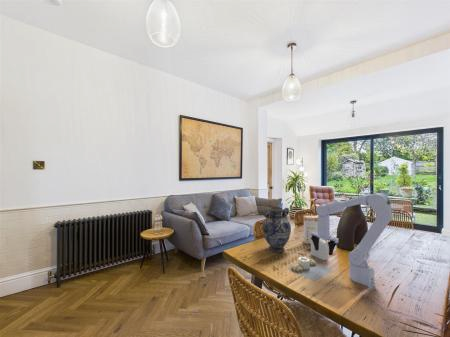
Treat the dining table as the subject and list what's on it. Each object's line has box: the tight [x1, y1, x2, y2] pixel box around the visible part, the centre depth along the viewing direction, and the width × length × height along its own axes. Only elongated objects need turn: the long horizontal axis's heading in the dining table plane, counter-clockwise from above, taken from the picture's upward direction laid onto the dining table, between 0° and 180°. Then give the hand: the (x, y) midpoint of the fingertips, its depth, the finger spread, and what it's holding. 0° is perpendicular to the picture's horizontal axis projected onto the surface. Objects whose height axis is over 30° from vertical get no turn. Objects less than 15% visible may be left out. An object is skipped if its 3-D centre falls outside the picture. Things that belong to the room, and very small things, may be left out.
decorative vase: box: [262, 206, 292, 253], centre depth 139 cm, size 21×19×28 cm
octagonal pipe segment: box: [297, 256, 310, 269], centre depth 110 cm, size 5×5×4 cm
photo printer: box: [310, 239, 329, 261], centre depth 123 cm, size 10×4×12 cm, turn 25°
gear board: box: [286, 257, 334, 282], centre depth 107 cm, size 16×18×6 cm
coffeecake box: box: [303, 215, 328, 245], centre depth 151 cm, size 15×7×20 cm, turn 80°
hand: (323, 252), depth 110 cm, fingers open, 7 cm apart
